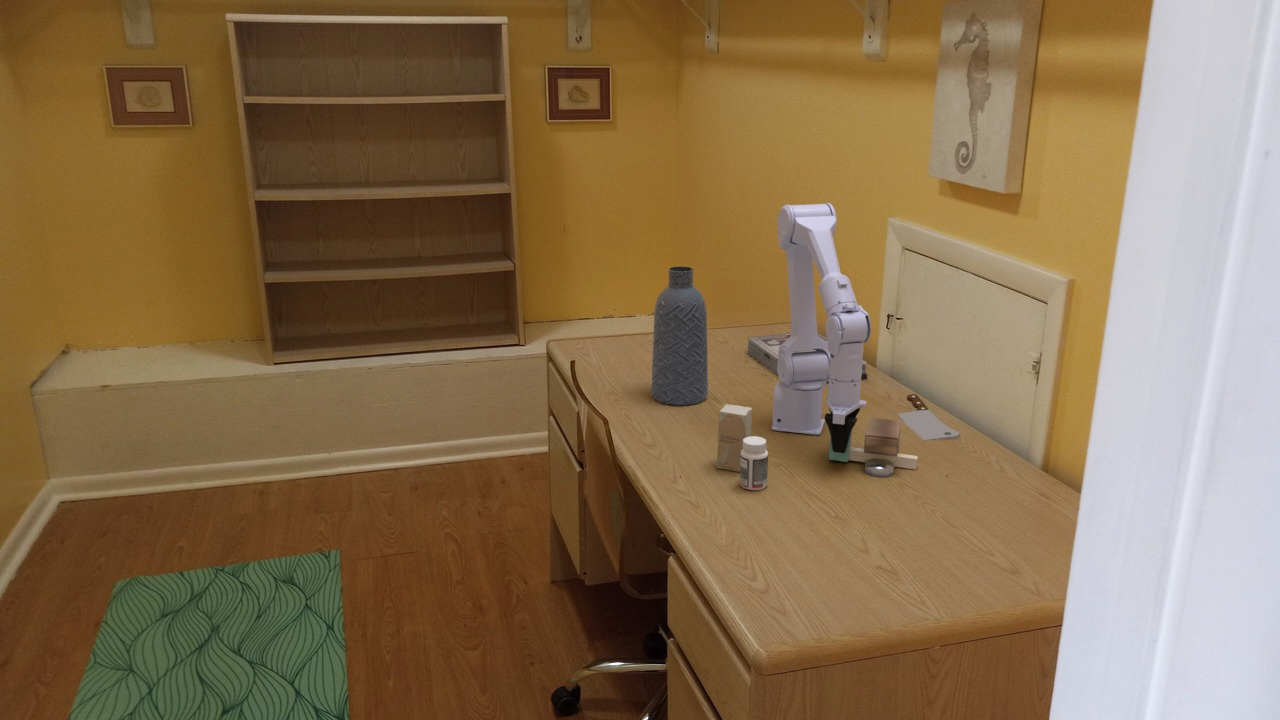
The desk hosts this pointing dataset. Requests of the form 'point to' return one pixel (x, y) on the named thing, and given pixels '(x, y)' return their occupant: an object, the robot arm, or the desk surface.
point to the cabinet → (882, 437)
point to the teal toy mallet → (872, 456)
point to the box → (732, 435)
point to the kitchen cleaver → (926, 422)
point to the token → (879, 467)
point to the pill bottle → (754, 463)
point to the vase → (680, 342)
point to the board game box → (768, 351)
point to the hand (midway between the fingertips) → (840, 447)
